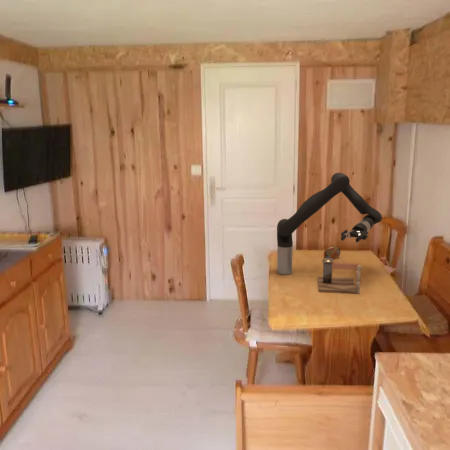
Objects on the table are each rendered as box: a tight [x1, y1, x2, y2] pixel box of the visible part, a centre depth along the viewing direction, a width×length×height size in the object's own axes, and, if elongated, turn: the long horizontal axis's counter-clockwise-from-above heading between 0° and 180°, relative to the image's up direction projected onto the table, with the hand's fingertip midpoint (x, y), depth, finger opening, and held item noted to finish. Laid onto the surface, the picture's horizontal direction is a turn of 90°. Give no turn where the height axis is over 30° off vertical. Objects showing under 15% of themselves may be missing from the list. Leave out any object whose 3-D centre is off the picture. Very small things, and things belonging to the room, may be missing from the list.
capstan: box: [322, 257, 360, 283], centre depth 261 cm, size 20×6×13 cm, turn 78°
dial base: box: [317, 264, 362, 295], centre depth 260 cm, size 20×22×16 cm
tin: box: [323, 245, 341, 261], centre depth 308 cm, size 15×3×8 cm, turn 129°
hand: (349, 239), depth 256 cm, fingers open, 8 cm apart
